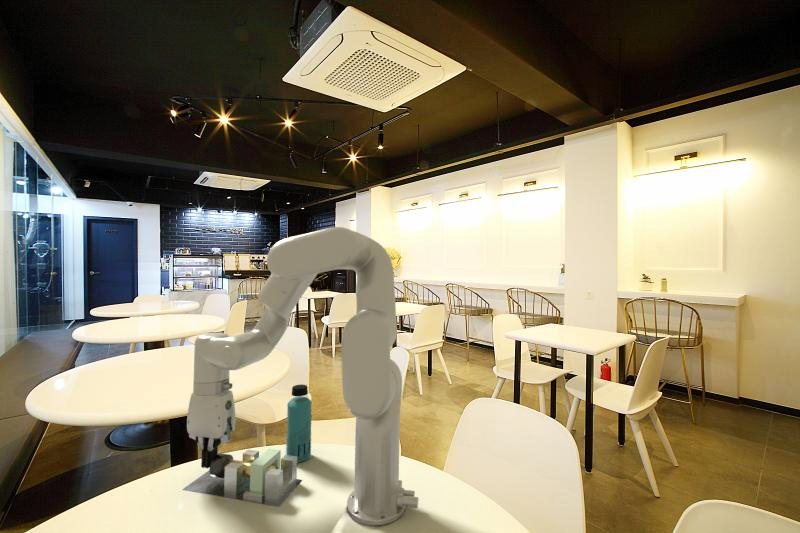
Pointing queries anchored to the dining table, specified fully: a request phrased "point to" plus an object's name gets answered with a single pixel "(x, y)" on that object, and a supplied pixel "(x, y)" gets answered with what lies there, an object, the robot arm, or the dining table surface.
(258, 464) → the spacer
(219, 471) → the shaft
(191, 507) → the dining table surface
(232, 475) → the rig
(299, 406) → the beverage bottle
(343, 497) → the dining table surface
